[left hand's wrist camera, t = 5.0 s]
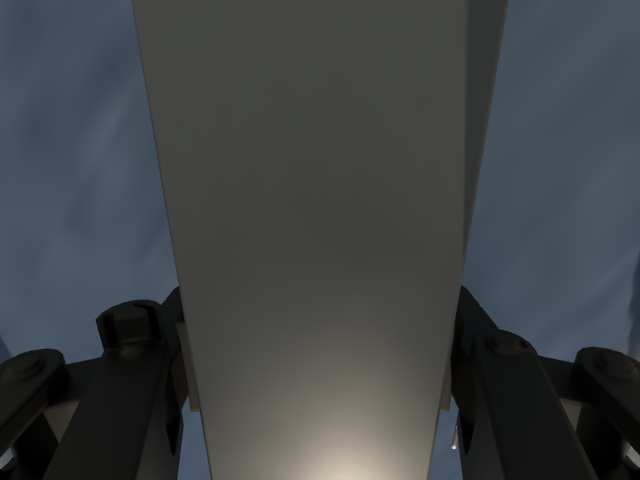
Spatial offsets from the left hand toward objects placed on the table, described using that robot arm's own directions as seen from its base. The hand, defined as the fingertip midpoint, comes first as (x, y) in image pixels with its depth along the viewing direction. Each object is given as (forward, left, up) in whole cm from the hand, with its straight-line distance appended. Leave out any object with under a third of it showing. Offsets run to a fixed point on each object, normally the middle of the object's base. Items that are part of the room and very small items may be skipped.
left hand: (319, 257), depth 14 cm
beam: (+22, +16, -1) cm, 28 cm away
